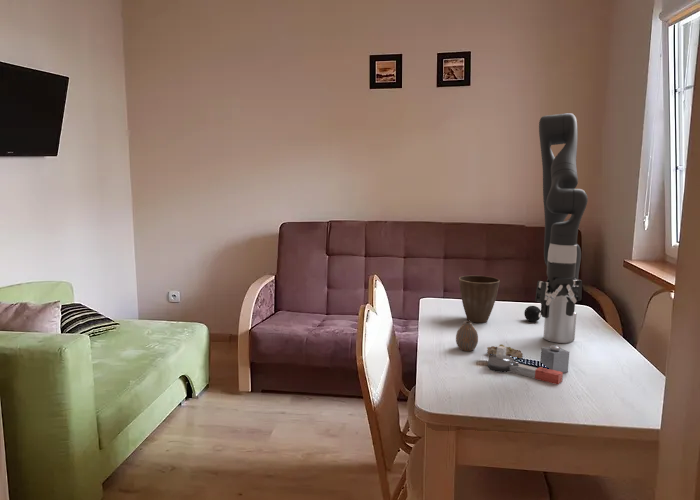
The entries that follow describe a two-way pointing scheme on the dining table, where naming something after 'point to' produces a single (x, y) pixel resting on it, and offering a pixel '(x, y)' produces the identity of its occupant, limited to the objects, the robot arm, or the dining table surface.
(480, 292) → the plant pot
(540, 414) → the dining table surface
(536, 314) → the billiard ball
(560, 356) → the domed steel cube
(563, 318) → the robot arm
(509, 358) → the ratchet
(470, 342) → the vase
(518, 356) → the mineral rock
